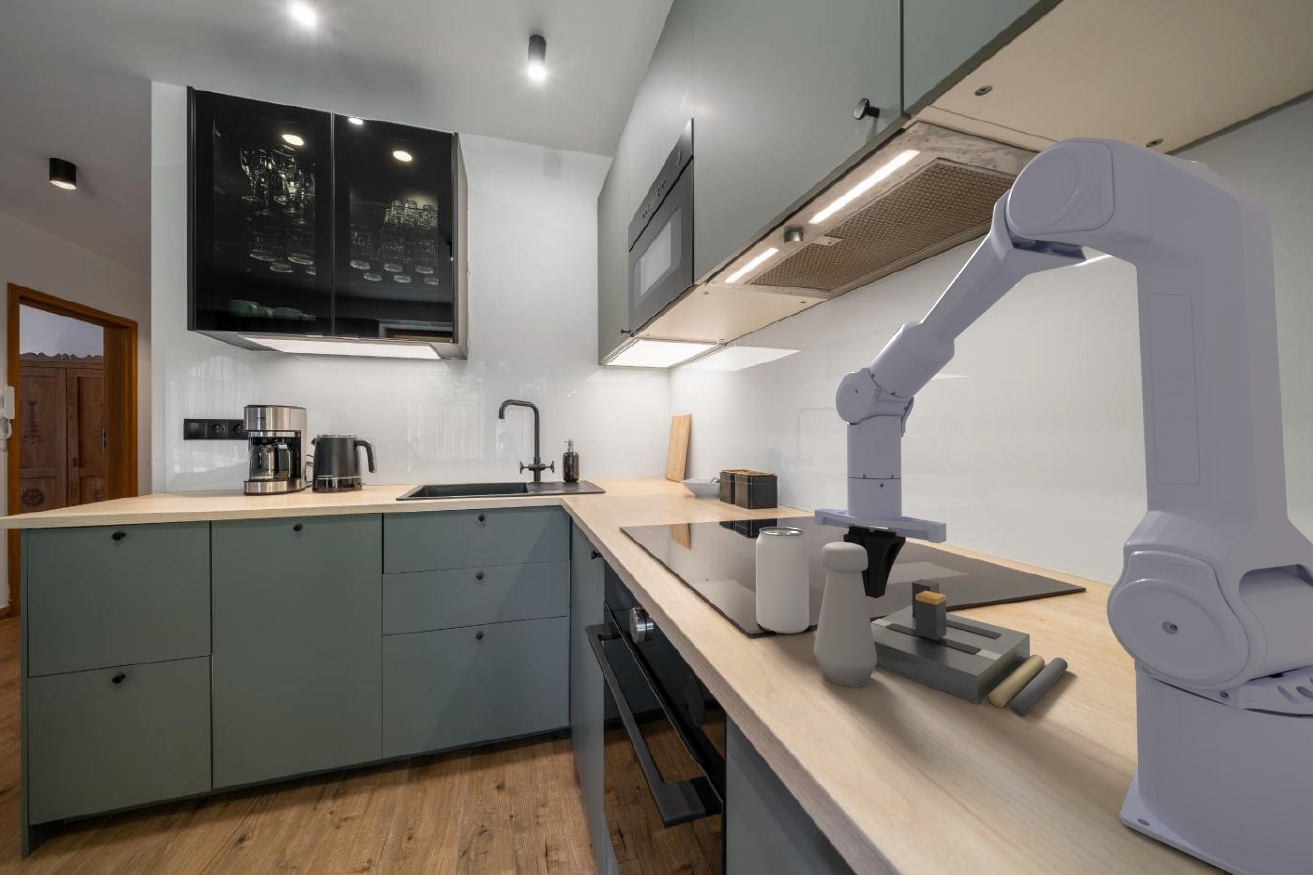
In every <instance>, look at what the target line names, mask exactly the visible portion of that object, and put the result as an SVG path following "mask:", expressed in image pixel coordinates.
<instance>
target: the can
mask: <svg viewBox="0 0 1313 875" xmlns="http://www.w3.org/2000/svg"><path fill="white" fill-rule="evenodd" d="M758 531H759V534H758V537H757V539H756V542H755V596H756V597H755V602H756V604H755V605H756V607H755V610H756V612H755V613H756V614H755V615H756V616H755V617H756V622H757V624H758V625H759V624H760V625H761V626H763V627H766V628H769V629H771V630H773V631H775V632H776V633H775V634H780V635H798V634H801V633H804V632H805V631H806V630H807V629H808V628H809V626H810V597H809V596H810V583H809V582H810V581H809V580H810V577H809V576H810V573H809V571H810V569H809V565H810V564H809V562H810V561H809V559H810V558H809V556H810V555H809V554H810V553H809V543H808V541H807V538H806V536H805V533H806V532H805V530H803V529H800V528H796V527H788V526H765V527H762V528H759V529H758ZM760 625H759V626H760Z"/></svg>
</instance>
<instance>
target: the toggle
mask: <svg viewBox="0 0 1313 875" xmlns="http://www.w3.org/2000/svg"><path fill="white" fill-rule="evenodd" d="M946 613H947V595H945V594H942V593H939V594H938V593H934V592H929V591H924V592H921V593H919V594H917V595H916V634H917V635H921V636H924V637H927V638H931V639H934V640H938V639H940V638H941V637H943V636H945V635H946Z"/></svg>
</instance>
